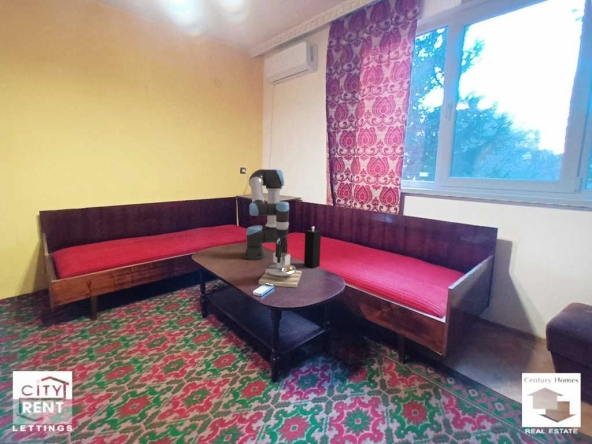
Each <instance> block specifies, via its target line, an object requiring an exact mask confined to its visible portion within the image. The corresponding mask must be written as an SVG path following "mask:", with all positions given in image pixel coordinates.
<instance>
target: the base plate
mask: <svg viewBox="0 0 592 444" xmlns="http://www.w3.org/2000/svg"><path fill="white" fill-rule="evenodd" d="M301 276H302V270H297V269H296V272H295V273H294V274H292V275H288V276H275V275H271V274H269V273H267V271H266V270H265V272H264V273H263V274H262V276H260V279H259V280H258V285H262V286H263V284H266V283H269V284H273V285H275V287H283V288H284V287H287V288H288V287H289V288H297V287H298V284H299V282H300V279H301Z"/></svg>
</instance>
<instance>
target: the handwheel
mask: <svg viewBox="0 0 592 444" xmlns="http://www.w3.org/2000/svg"><path fill="white" fill-rule="evenodd" d="M275 253H276V251H274V252H273V253H272V264H270V265H268V266H267V267H266V269H265V272H266V271H267V273H269V274H271V275H275V276H288V275H292V274H294V273H295V272H296V270H297V268H296V266H294V265H292V264H291V254H290V253H288V252H287V253H283V252H282V253H281V257H282V268H277V257H275ZM273 263H275V264H273Z"/></svg>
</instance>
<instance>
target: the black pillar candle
mask: <svg viewBox="0 0 592 444" xmlns="http://www.w3.org/2000/svg"><path fill="white" fill-rule="evenodd" d="M321 241H322V231H321V230H318V229H315V226H314V225H313V226H311V229H307V230H304V251H303V252H304V256H303V265H304V266H305V267H307V268H310V269H314V268H317V267H319V266H320V265H321V263H320V262H321V243H322V242H321Z"/></svg>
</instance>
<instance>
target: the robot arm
mask: <svg viewBox="0 0 592 444" xmlns="http://www.w3.org/2000/svg"><path fill="white" fill-rule="evenodd" d="M248 185H249V187H250V190H251V191H250V193H251V201H252V203H250V204H249V215H250V216H253V217H254V216H255V217H260V216H265V217H267V222H266V224H265V227H264V226H263V225H260V224H259V225H252V226H249V227H247V228H246V234H245V235H246V248H245V251H244V254H243V255H244V256H243V257H244V259H245V258H246V259H245V260H249V261H257V260H262V259H265V256H266V254H265V250H264V247H263V244H275V252H276V253H275V257H277V263H276V264H277V268H282V257H281V253H282V252H283V253H287V254H288V235H289V225H290V223H289V219H290V217H289V215H290V214H289V213H290V212H289V211H290V203H289V202H288V201H280V191H281V190H282V189H283V187H284V186H285V177H284V173H283V171H282V170H281V169H275V168H274V169H265V168H264V169H263V168H262V169H261V168H260V169H257V170H255V171H253V173H251V175H250V177H249V180H248ZM264 186H265V189H266V190H267V203H265V198H264V189H263V187H264Z"/></svg>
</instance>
